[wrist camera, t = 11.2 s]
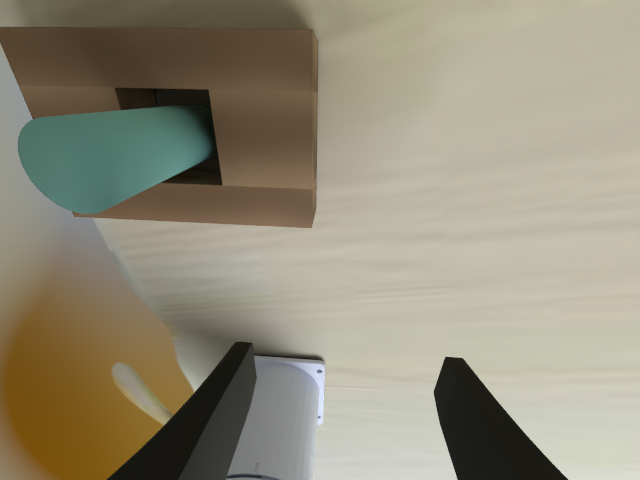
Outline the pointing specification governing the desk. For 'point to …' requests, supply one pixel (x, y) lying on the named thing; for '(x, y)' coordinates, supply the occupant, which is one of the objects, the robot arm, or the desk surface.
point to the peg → (113, 152)
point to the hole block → (226, 104)
